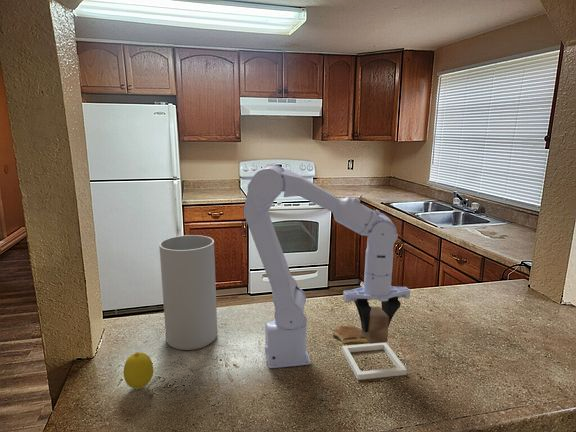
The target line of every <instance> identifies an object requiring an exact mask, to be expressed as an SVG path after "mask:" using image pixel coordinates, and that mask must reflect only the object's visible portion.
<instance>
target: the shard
mask: <svg viewBox="0 0 576 432" xmlns="http://www.w3.org/2000/svg"><path fill="white" fill-rule="evenodd" d="M331 335H333V336H335V337H337V338H338V339H339V340H340V342H341V343H342V344H349V343H369V342H368V341H367V339H366V338H365V336H364V335H363V333H362V328H359V327H357V326H354V325H351V324H349V323H345V324H341V325H339V326H338V327H337V328H335V329H334V330H332V331H331Z"/></svg>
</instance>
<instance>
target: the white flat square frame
mask: <svg viewBox="0 0 576 432" xmlns="http://www.w3.org/2000/svg"><path fill="white" fill-rule="evenodd" d="M378 350H379V351H380V350H383V351H384V352H385V354H386V356H388V358H389V360H390V361H391V363H393V365H394V366H395V367H392V368H390V367H389V368H384V369H383V368H381V369H370V370H361V369H360V368H359V366H358V364H357V363H356V361H355V359H354V358H353V355H352V354H351V353H356V352H367V351H378ZM341 352H342V354H343V355H344V357H345V359H346V361H347V362H348V364H349V367H350V369H351V370H352V373H353V374H354V376H355V377H356V379H357V381H361V380H369V379H379V378H389V377H397V376H399V377H400V376H407V374H408V373H407V372H408V369H407V368H406V366H405V365H404V364H403V362H402V361H401V360H400V359H399V358H398V356H397V355H396V353H395V352H394V351H393V349H391V347H390V346H389V344H388V342H385V343H374V344H369V343H363V344H362V343H360V344H349V345H342V346H341Z"/></svg>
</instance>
